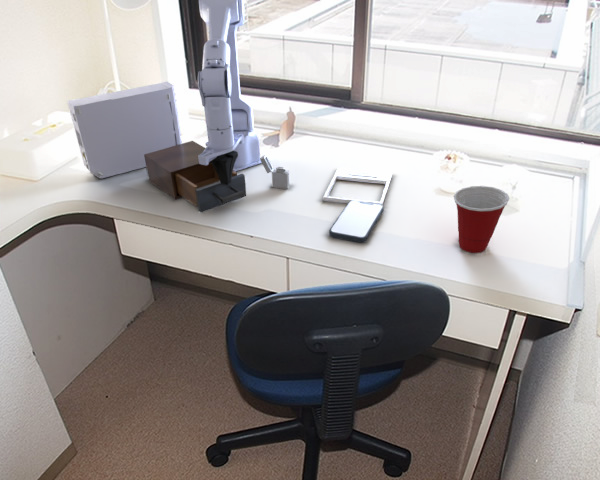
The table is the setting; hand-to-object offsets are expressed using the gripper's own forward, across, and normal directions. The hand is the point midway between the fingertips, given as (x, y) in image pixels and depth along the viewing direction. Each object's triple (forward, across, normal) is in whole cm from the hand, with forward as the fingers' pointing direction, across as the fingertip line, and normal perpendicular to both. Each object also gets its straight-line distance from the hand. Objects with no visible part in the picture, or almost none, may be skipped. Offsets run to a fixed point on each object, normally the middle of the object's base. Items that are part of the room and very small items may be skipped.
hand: (225, 182), depth 130 cm
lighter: (+7, -16, +3) cm, 18 cm away
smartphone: (+7, -9, +30) cm, 32 cm away
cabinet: (+7, -7, -19) cm, 22 cm away
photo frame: (+7, -26, +23) cm, 35 cm away
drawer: (+6, -2, -6) cm, 9 cm away
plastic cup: (+7, -12, +56) cm, 58 cm away
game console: (+8, -9, -38) cm, 40 cm away
